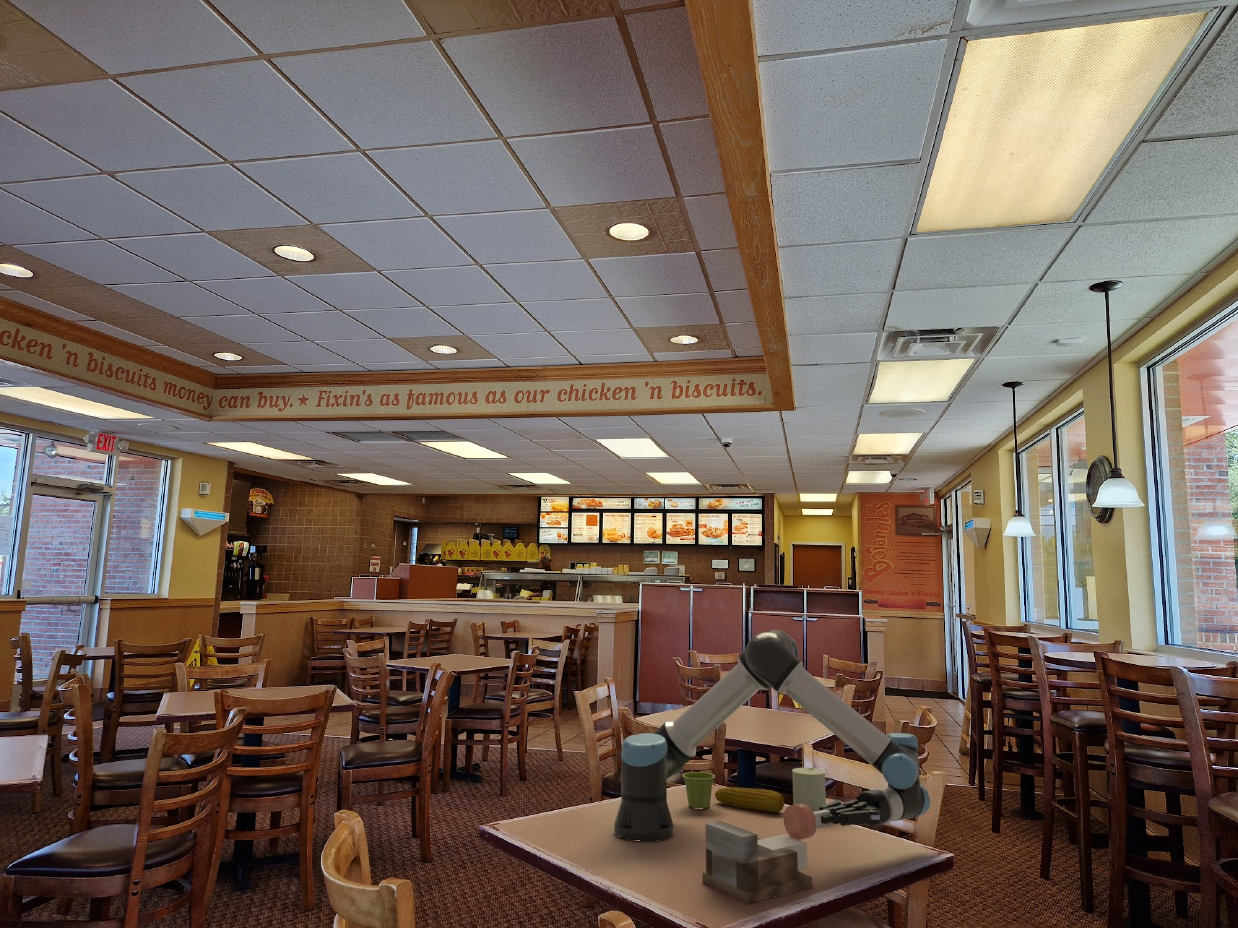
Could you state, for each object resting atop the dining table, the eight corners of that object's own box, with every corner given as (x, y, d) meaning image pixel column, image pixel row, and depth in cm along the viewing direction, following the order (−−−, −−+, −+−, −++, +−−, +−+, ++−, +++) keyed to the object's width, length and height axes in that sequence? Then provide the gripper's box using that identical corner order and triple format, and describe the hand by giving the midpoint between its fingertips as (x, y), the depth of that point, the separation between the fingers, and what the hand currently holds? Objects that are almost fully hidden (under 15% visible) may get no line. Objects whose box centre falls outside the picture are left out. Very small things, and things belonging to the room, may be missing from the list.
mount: (747, 904, 154) (746, 838, 156) (702, 882, 165) (702, 821, 167) (812, 887, 163) (811, 825, 165) (765, 867, 175) (764, 810, 177)
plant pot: (681, 810, 222) (681, 777, 224) (684, 801, 232) (683, 770, 233) (714, 811, 221) (714, 779, 222) (716, 803, 230) (715, 772, 231)
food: (786, 812, 222) (785, 790, 223) (778, 816, 217) (777, 794, 218) (718, 801, 233) (718, 780, 234) (710, 805, 229) (709, 783, 230)
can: (829, 812, 222) (828, 767, 224) (823, 820, 214) (822, 773, 216) (796, 808, 226) (795, 764, 228) (789, 815, 217) (788, 770, 220)
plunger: (773, 876, 162) (772, 815, 165) (750, 867, 168) (749, 807, 170) (817, 865, 169) (816, 807, 171) (794, 856, 175) (792, 800, 177)
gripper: (902, 830, 180) (830, 846, 167) (857, 816, 191) (786, 831, 178) (900, 795, 181) (829, 809, 169) (855, 784, 192) (785, 796, 180)
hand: (807, 820), depth 173 cm, fingers closed
